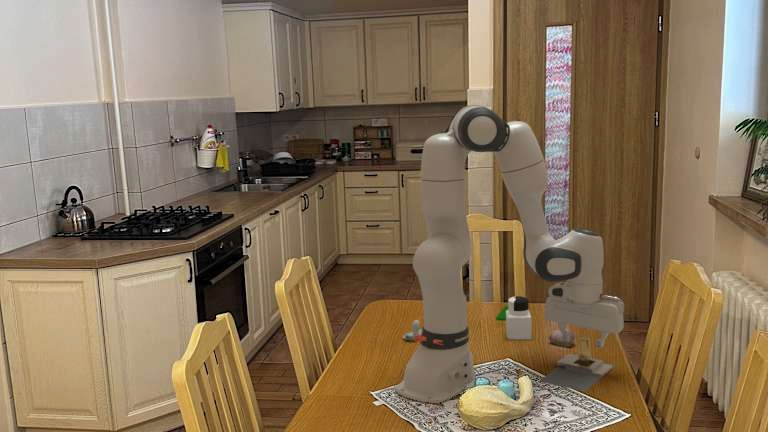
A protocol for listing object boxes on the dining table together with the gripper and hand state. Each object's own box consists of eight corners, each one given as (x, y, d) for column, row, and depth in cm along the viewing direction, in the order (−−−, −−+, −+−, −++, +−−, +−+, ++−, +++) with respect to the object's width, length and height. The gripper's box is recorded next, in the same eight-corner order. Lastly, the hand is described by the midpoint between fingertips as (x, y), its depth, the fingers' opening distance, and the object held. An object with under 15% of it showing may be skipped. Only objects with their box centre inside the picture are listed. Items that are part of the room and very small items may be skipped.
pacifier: (398, 339, 218) (411, 343, 214) (397, 319, 217) (410, 323, 213) (416, 333, 223) (429, 337, 218) (415, 314, 222) (428, 318, 218)
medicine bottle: (529, 332, 220) (529, 294, 218) (531, 339, 213) (531, 301, 211) (505, 332, 221) (505, 294, 219) (507, 339, 214) (507, 301, 212)
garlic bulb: (573, 350, 204) (573, 323, 202) (547, 348, 206) (547, 321, 205) (575, 341, 211) (576, 315, 209) (550, 339, 213) (550, 313, 212)
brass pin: (588, 370, 184) (588, 341, 183) (576, 369, 186) (577, 339, 184) (591, 366, 187) (591, 337, 186) (579, 365, 188) (579, 336, 187)
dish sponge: (525, 314, 239) (525, 307, 239) (517, 327, 226) (517, 319, 226) (504, 312, 242) (504, 305, 241) (495, 325, 229) (495, 318, 229)
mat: (584, 397, 172) (584, 391, 172) (539, 386, 180) (539, 380, 179) (615, 370, 188) (615, 365, 187) (572, 361, 195) (572, 356, 195)
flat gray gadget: (601, 377, 180) (601, 371, 180) (557, 367, 187) (557, 361, 187) (611, 368, 186) (612, 362, 185) (568, 359, 193) (568, 353, 193)
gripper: (628, 295, 179) (626, 347, 182) (553, 282, 192) (551, 331, 194) (620, 301, 174) (617, 354, 177) (542, 288, 187) (541, 338, 189)
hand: (582, 342), depth 185 cm, fingers open, 8 cm apart
